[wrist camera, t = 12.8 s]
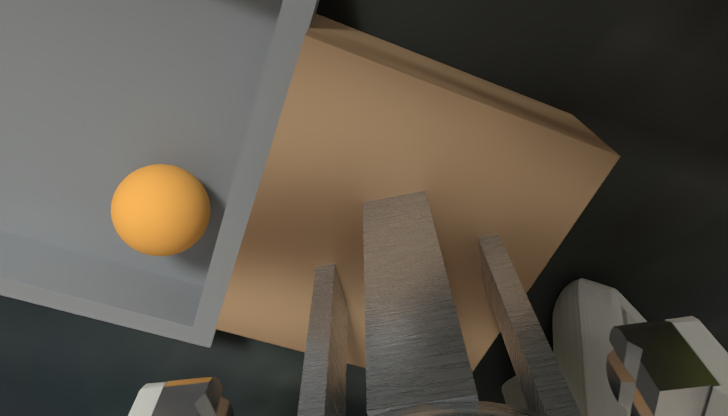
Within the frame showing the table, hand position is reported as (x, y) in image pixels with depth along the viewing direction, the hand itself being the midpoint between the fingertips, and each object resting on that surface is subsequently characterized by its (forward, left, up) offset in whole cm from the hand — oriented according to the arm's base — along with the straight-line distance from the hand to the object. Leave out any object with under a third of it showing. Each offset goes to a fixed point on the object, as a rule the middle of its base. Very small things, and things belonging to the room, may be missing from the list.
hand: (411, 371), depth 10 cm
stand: (0, 0, -9) cm, 9 cm away
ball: (+3, -7, -7) cm, 10 cm away
